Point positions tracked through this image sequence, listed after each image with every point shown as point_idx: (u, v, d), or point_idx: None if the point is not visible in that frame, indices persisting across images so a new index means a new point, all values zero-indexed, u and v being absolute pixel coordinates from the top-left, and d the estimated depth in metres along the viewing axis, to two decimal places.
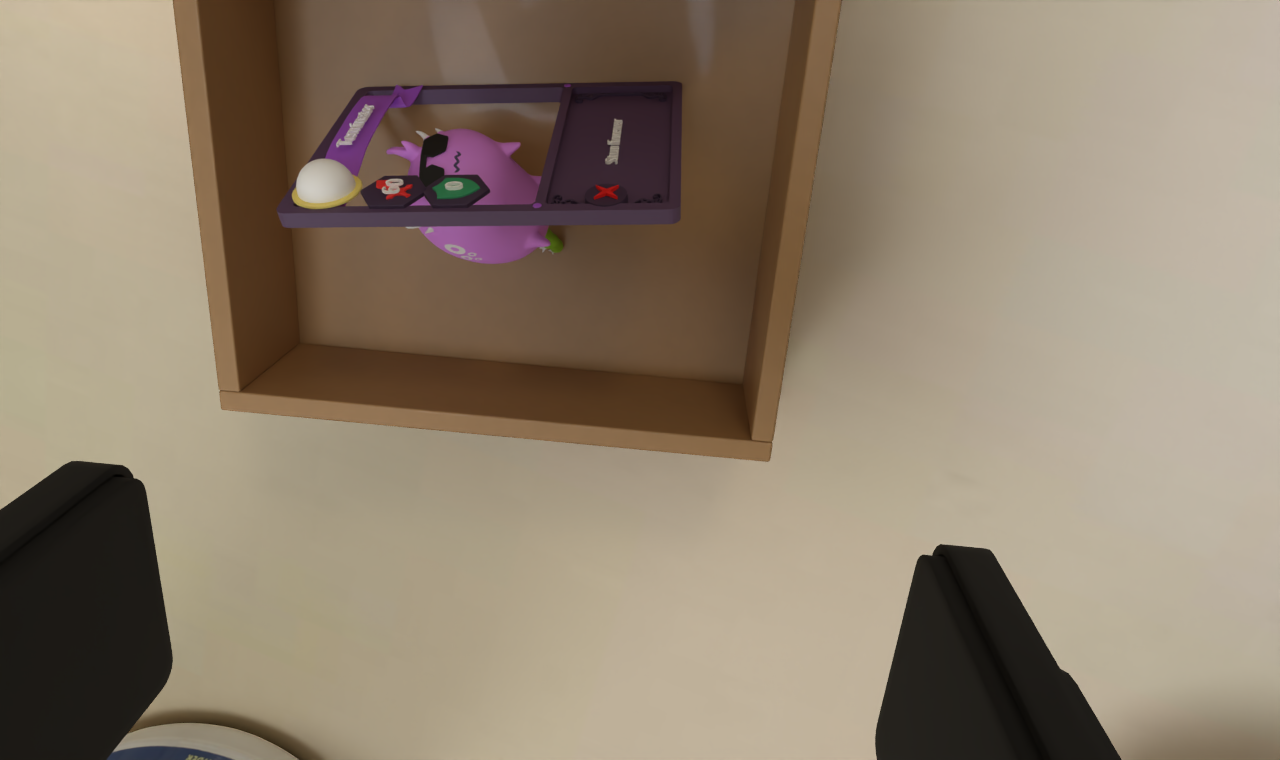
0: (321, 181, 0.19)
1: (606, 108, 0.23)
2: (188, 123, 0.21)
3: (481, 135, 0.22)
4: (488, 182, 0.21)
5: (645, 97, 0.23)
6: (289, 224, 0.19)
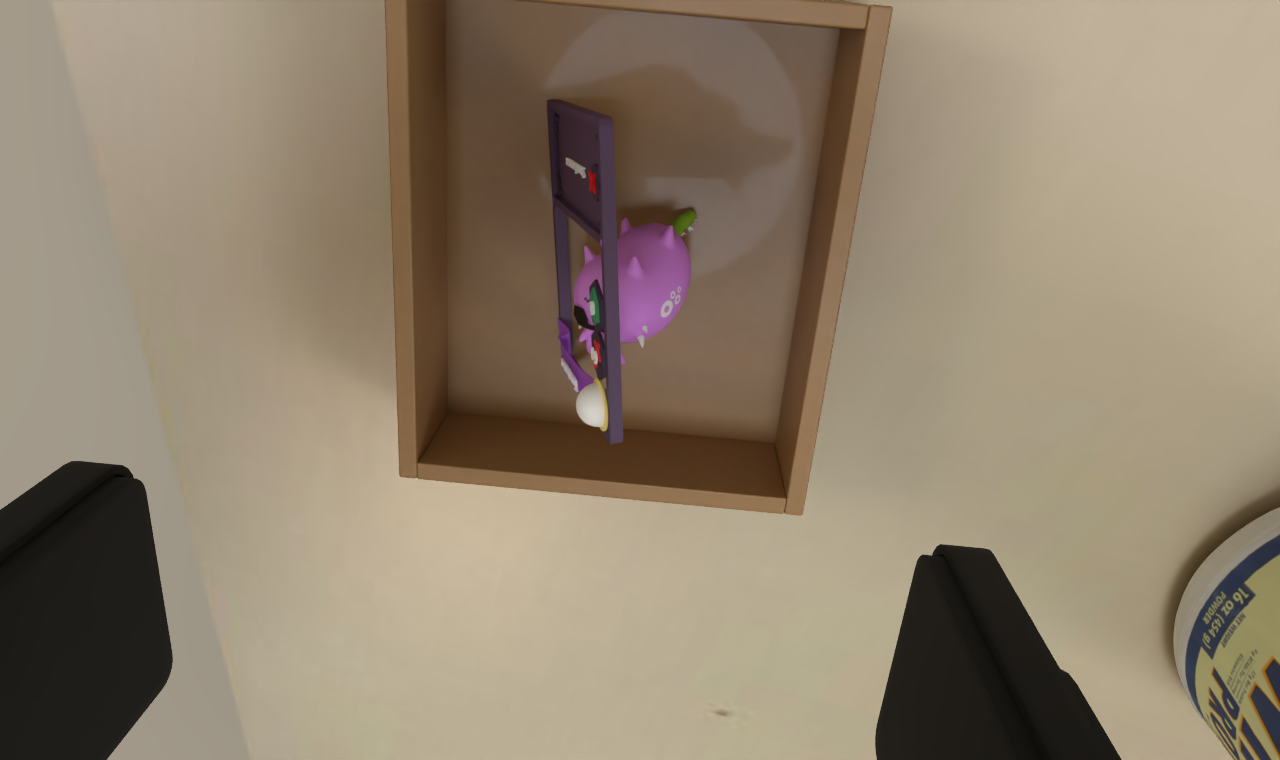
0: (588, 408, 0.24)
1: (564, 169, 0.27)
2: (567, 492, 0.28)
3: (577, 278, 0.26)
4: None
5: (557, 133, 0.27)
6: (620, 436, 0.24)
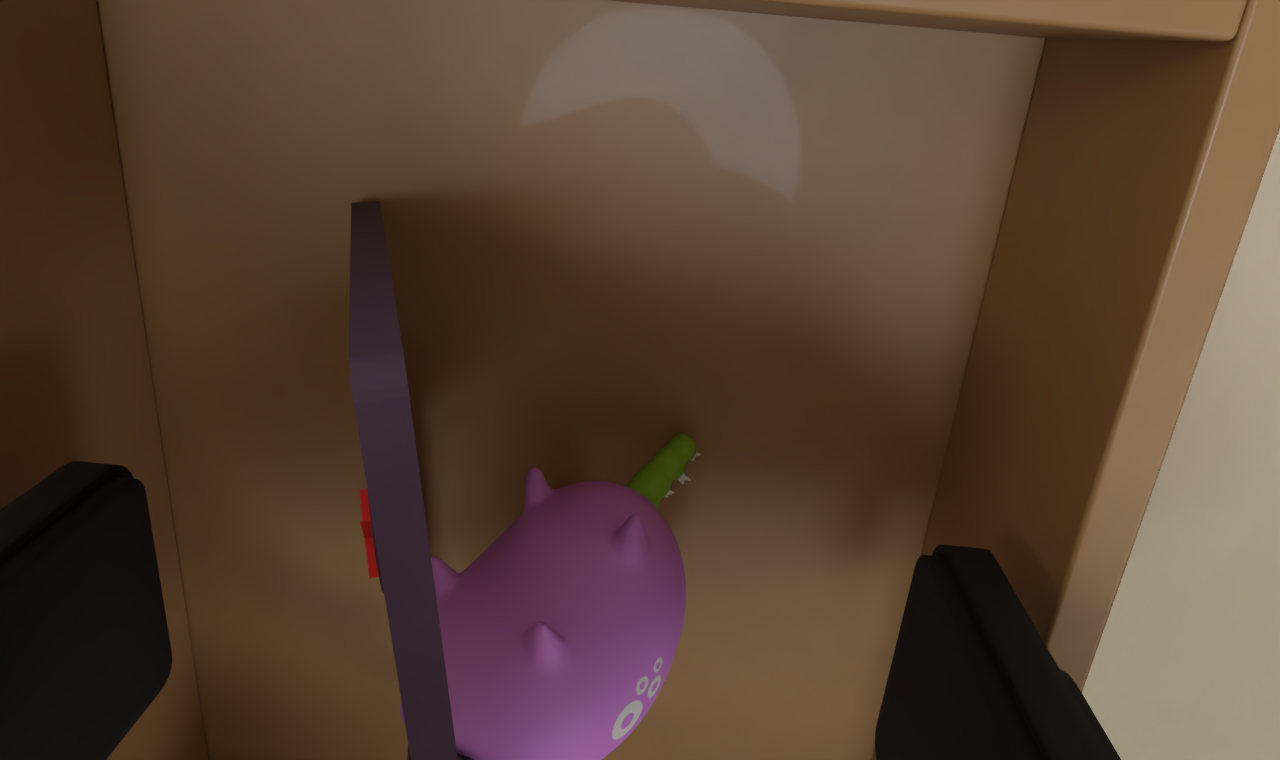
0: None
1: None
2: None
3: None
4: (472, 666, 0.10)
5: None
6: None
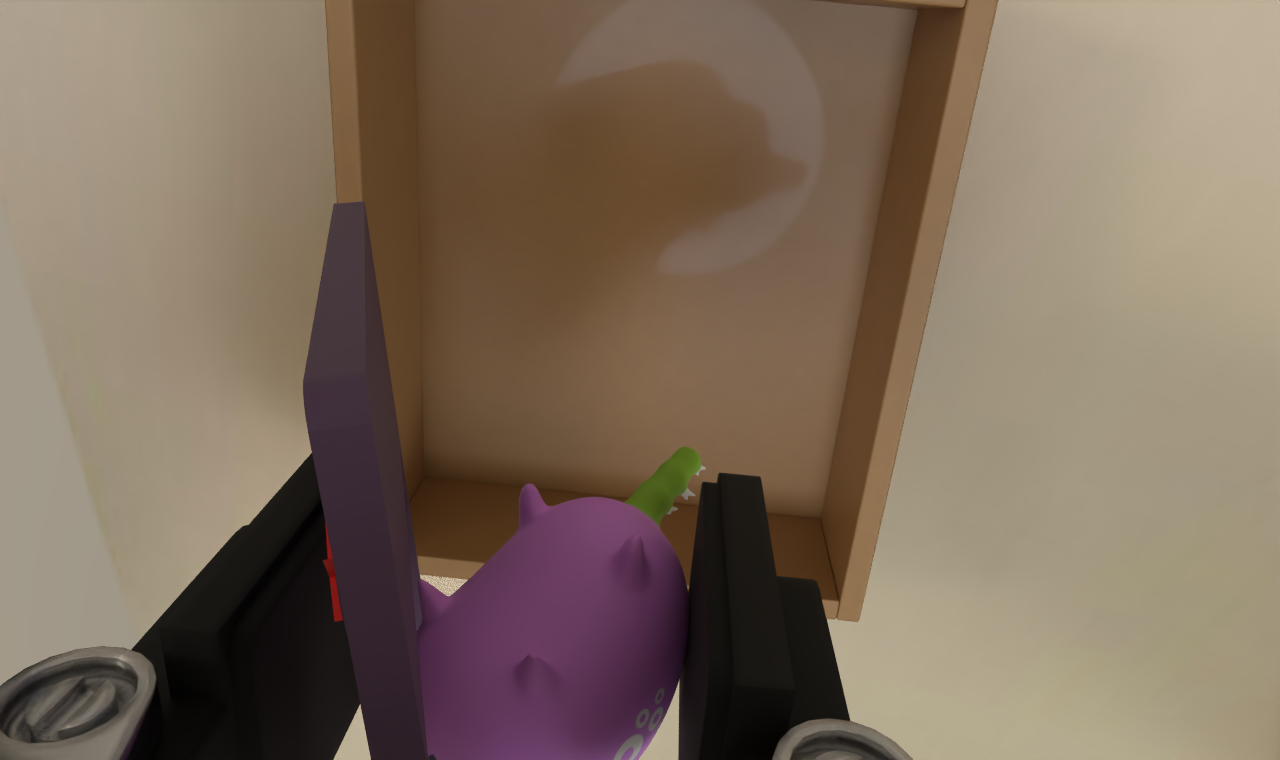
0: None
1: None
2: None
3: None
4: (460, 700, 0.09)
5: None
6: None
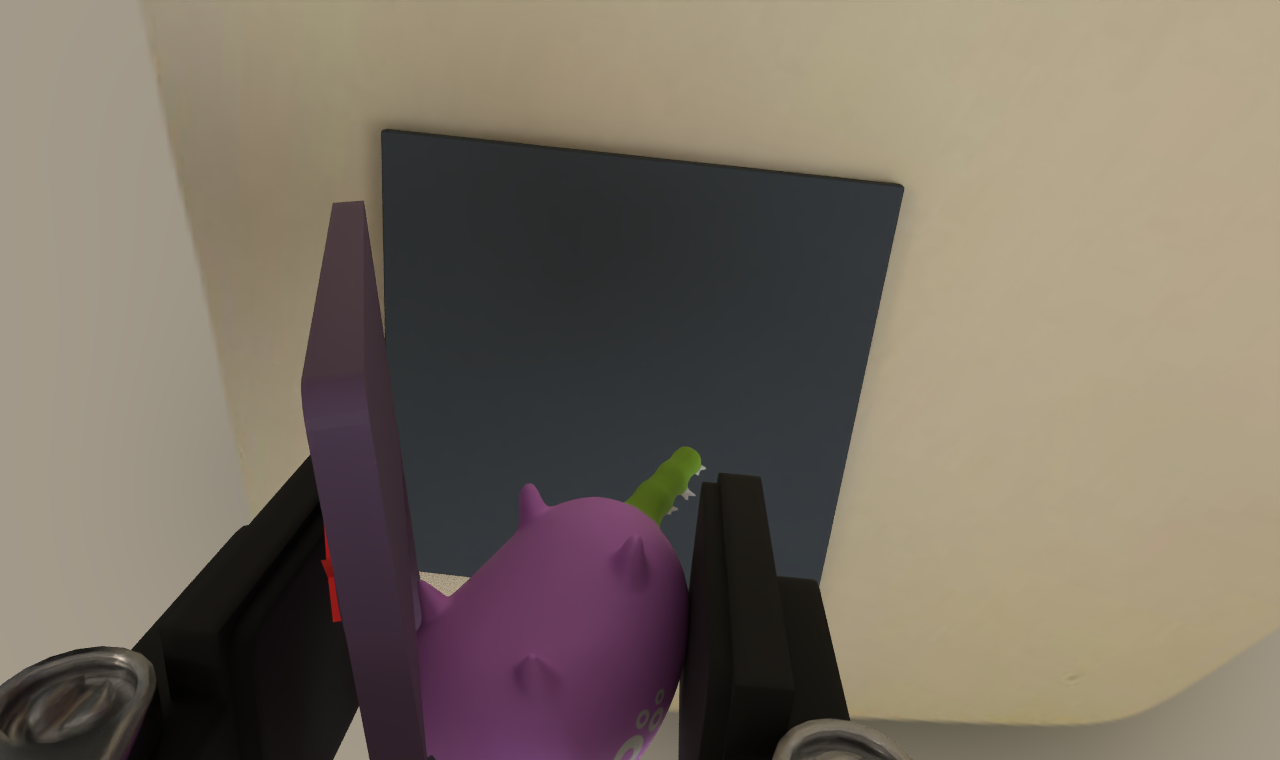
0: None
1: None
2: None
3: None
4: (461, 700, 0.09)
5: None
6: None
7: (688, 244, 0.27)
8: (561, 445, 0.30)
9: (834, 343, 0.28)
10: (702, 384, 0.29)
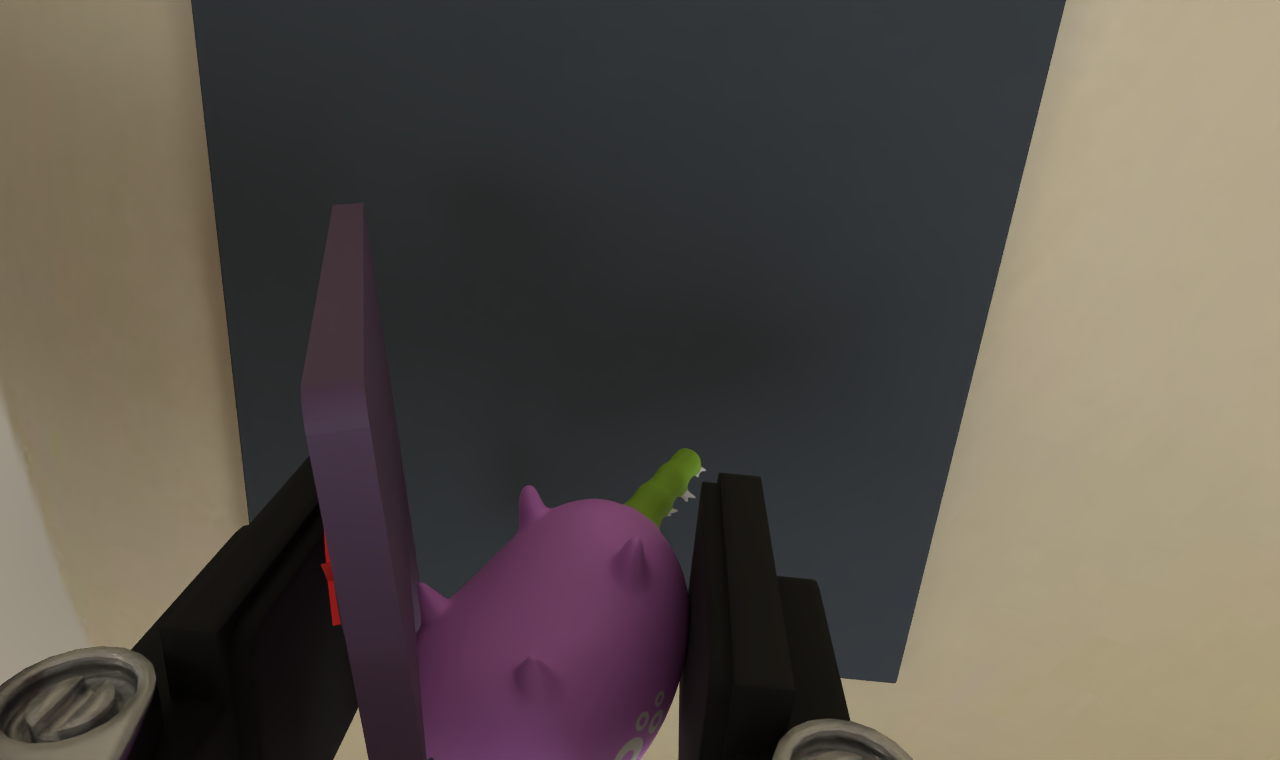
0: None
1: None
2: None
3: None
4: (460, 703, 0.09)
5: None
6: None
7: (704, 91, 0.16)
8: (508, 431, 0.19)
9: (942, 255, 0.17)
10: (728, 328, 0.18)
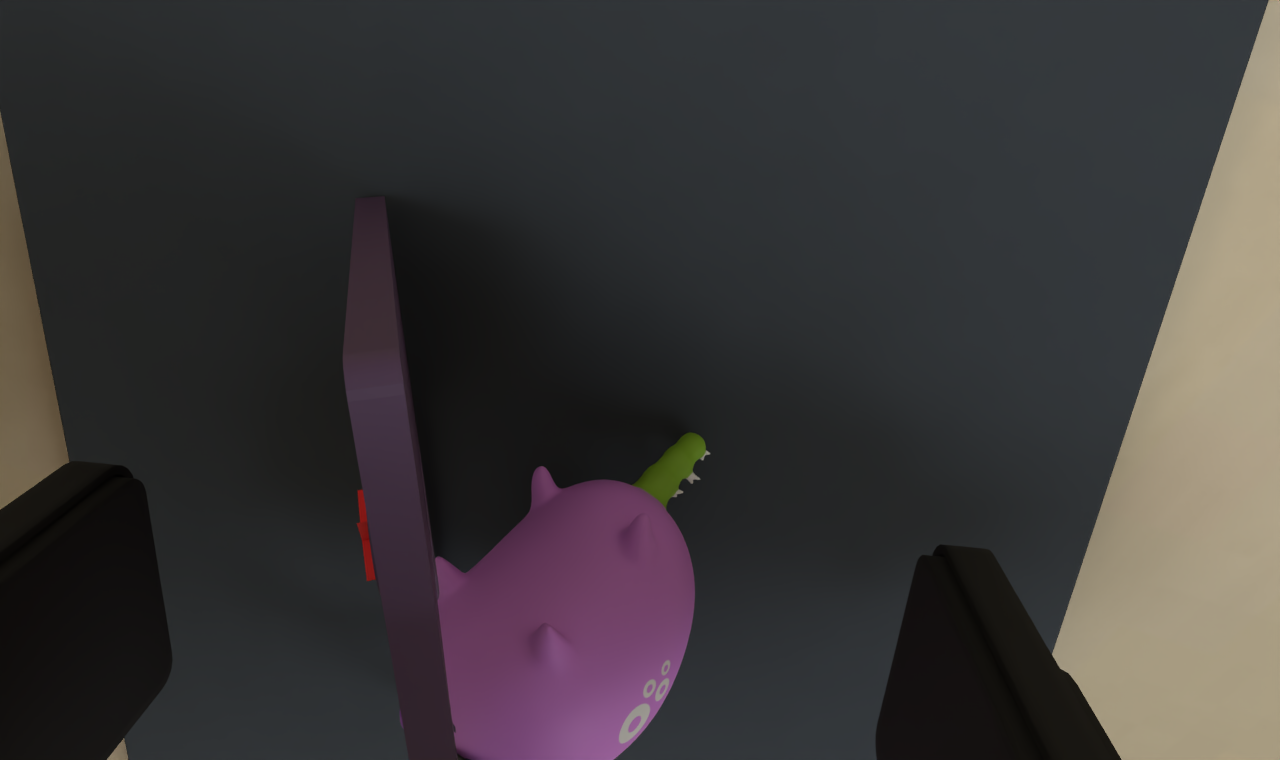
0: None
1: None
2: None
3: None
4: (477, 667, 0.10)
5: None
6: None
7: (724, 125, 0.11)
8: None
9: (1064, 357, 0.12)
10: (755, 453, 0.13)
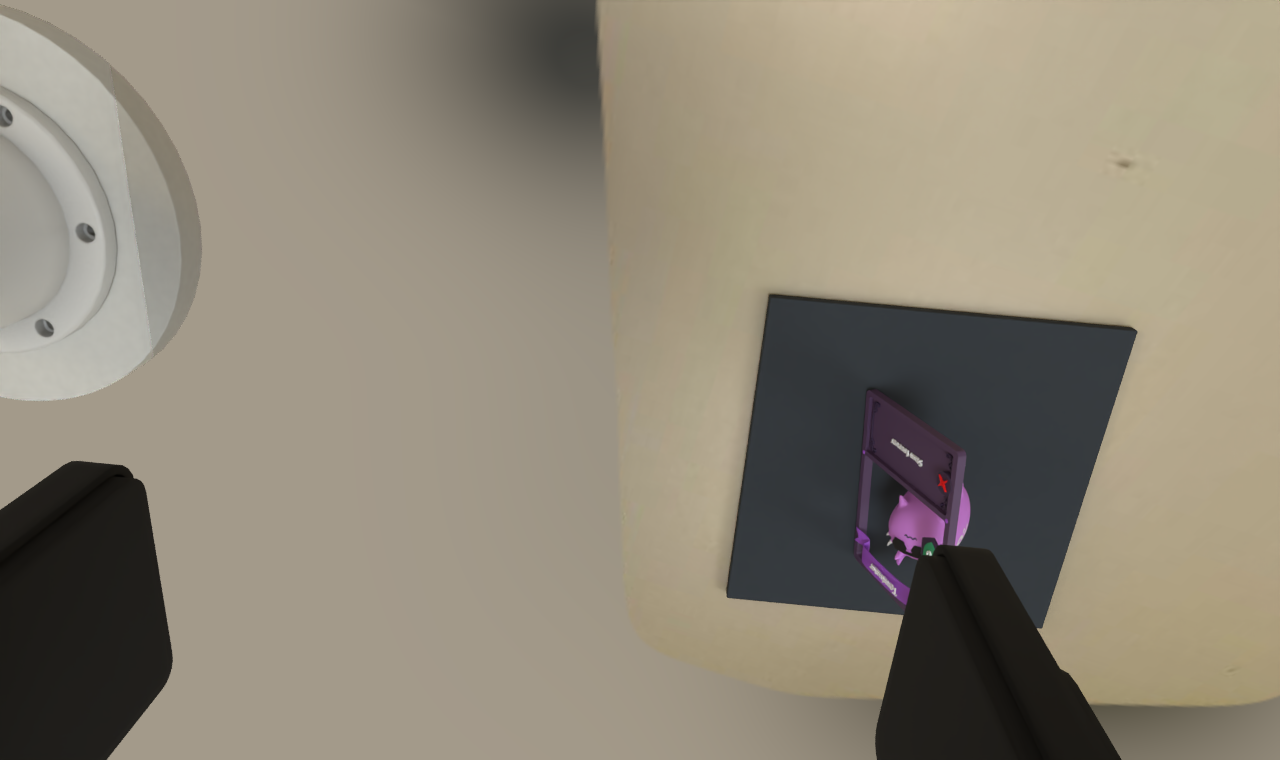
0: None
1: (881, 439, 0.38)
2: None
3: (894, 516, 0.38)
4: (923, 522, 0.37)
5: (876, 413, 0.39)
6: None
7: (979, 370, 0.38)
8: (869, 508, 0.41)
9: (1077, 435, 0.39)
10: (978, 464, 0.40)
